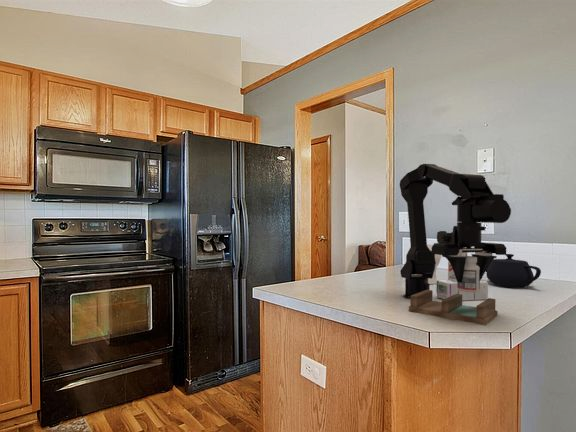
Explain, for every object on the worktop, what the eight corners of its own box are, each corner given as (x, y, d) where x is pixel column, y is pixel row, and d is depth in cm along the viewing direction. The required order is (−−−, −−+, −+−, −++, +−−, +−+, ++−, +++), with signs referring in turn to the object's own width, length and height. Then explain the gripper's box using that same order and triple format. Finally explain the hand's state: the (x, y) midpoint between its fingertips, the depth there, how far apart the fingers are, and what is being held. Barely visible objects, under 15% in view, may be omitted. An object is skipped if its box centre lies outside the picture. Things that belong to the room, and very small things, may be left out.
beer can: (466, 292, 124) (466, 246, 124) (446, 290, 127) (446, 245, 127) (468, 289, 129) (468, 245, 129) (449, 287, 133) (449, 244, 133)
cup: (444, 285, 137) (444, 246, 137) (415, 284, 139) (415, 245, 139) (437, 280, 148) (437, 244, 148) (410, 279, 150) (410, 243, 150)
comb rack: (408, 310, 98) (408, 295, 98) (425, 303, 107) (425, 289, 107) (486, 325, 85) (486, 307, 85) (497, 315, 94) (497, 299, 94)
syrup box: (488, 281, 113) (447, 281, 110) (488, 300, 113) (447, 301, 110) (475, 278, 119) (436, 279, 116) (475, 296, 118) (436, 297, 115)
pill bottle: (465, 287, 97) (465, 255, 97) (483, 291, 93) (484, 257, 93) (452, 289, 95) (453, 256, 95) (471, 293, 90) (472, 258, 90)
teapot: (554, 290, 131) (554, 256, 131) (525, 292, 125) (525, 257, 125) (493, 279, 154) (493, 250, 154) (466, 281, 148) (466, 251, 148)
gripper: (476, 222, 104) (475, 276, 104) (419, 221, 99) (418, 278, 99) (508, 222, 93) (507, 283, 93) (446, 222, 88) (445, 285, 88)
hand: (468, 282), depth 94 cm, fingers closed on pill bottle, 5 cm apart
